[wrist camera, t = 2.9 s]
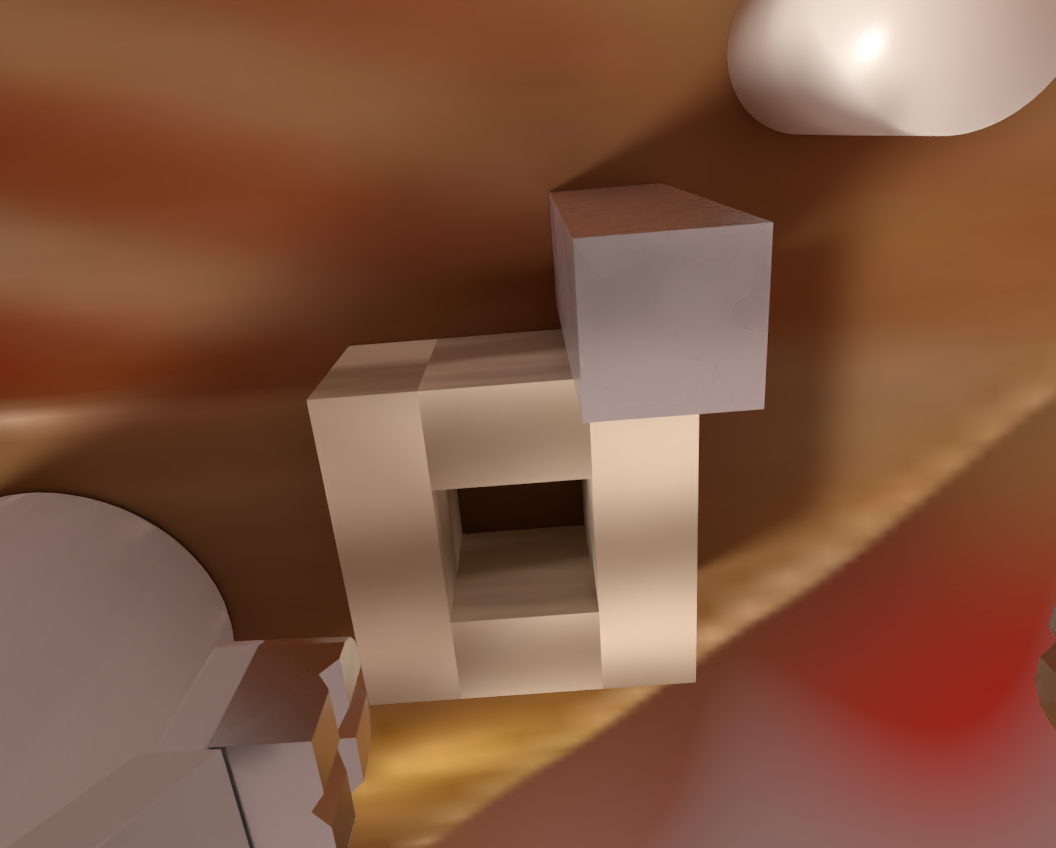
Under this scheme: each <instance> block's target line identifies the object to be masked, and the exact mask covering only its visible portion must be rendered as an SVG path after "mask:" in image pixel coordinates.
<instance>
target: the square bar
mask: <svg viewBox="0 0 1056 848" xmlns="http://www.w3.org/2000/svg"><path fill="white" fill-rule="evenodd" d="M549 202H550V217H551V233H552V249H553V264H554V280H555V296H556V306H557V310H558V315H559V319H560V323H561V328H562V332H563V337H564V341H565V346H566V350H567V355H568V359H569V364H570V368H571V372H572V377H573V381H574V386H575V390H576V395H577V399H578V404H579V408H580V412H581V417H582V421H583V423H590V422H603V421H616V420H629V419H642V418H655V417H668V416H681V415H694V414H707V413H720V412H733V411H746V410H759V409H764V402H765V382H766V361H767V341H768V321H769V301H770V280H771V260H772V240H773V222H771V221H768V220H766V219H763V218H760V217H757V216H754V215H751V214H749V213H746V212H743V211H740V210H737V209H734V208H732V207H729V206H726V205H723V204H720V203H717V202H715V201H712V200H709V199H706V198H703V197H700V196H698V195H695V194H692V193H689V192H686V191H683V190H681V189H678V188H675V187H672V186H669V185H666V184H664V183H654V184H641V185H629V186H617V187H605V188H593V189H581V190H569V191H557V192H549Z"/></svg>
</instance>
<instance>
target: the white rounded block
mask: <svg viewBox="0 0 1056 848" xmlns="http://www.w3.org/2000/svg"><path fill="white" fill-rule="evenodd" d="M727 65H728V71H729V76H730V80H731V83H732V87H733V89H734V91H735V93H736V96H737V97H738V99H739V101H740V102H741V104H742V106H743V107H744V108H745V109H746V110H747V112H748V113H749V114H750V115H751V116H752V117H753V118H755V119H756V120H757V121H758V122H760V123H761V124H763V125H764V126H766V127H768V128H770V129H773V130H775V131H778V132H782V133H786V134H793V135H877V136H953V135H959V134H966V133H970V132H973V131H977V130H980V129H983V128H986V127H988V126H990V125H993V124H995V123H998V122H1000V121H1001V120H1003V119H1005V118H1007V117H1008V116H1010V115H1012V114H1014V113H1015V112H1017V111H1018V110H1020V109H1021V108H1022V107H1024V106H1025V105H1026V104H1028V103H1029V102H1030V101H1032V100H1033V99H1034V98H1035V97H1036V96H1037V95H1038V94H1039V93H1041V92H1042V91H1043V90H1044V89H1045V88H1046V87H1047V86H1048V85H1049V83H1050V82H1051V81H1052V80H1053V79H1054V78H1055V77H1056V0H740V2H739V4H738V6H737V9H736V11H735V13H734V16H733V19H732V22H731V26H730V30H729V35H728V43H727Z"/></svg>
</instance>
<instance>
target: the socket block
mask: <svg viewBox="0 0 1056 848" xmlns="http://www.w3.org/2000/svg"><path fill="white" fill-rule="evenodd" d="M306 401H307V406H308V410H309V415H310V420H311V425H312V430H313V435H314V439H315V444H316V449H317V454H318V459H319V464H320V468H321V473H322V478H323V483H324V488H325V493H326V498H327V502H328V507H329V512H330V517H331V522H332V527H333V531H334V536H335V541H336V546H337V551H338V556H339V560H340V565H341V570H342V575H343V580H344V585H345V589H346V594H347V599H348V604H349V609H350V614H351V618H352V623H353V628H354V633H355V638H356V643H357V647H358V652H359V657H360V662H361V667H362V672H363V676H364V681H365V686H366V691H367V696H368V701H369V705H379V704H393V703H407V702H422V701H436V700H450V699H464V698H478V697H492V696H507V695H521V694H535V693H549V692H563V691H577V690H592V689H606V688H620V687H634V686H648V685H662V684H676V683H690V682H696V624H697V547H698V470H699V414H694V415H681V416H668V417H655V418H642V419H629V420H616V421H603V422H590V423H583V421H582V417H581V412H580V408H579V404H578V399H577V395H576V390H575V386H574V381H573V377H572V372H571V368H570V364H569V359H568V355H567V350H566V346H565V341H564V337H563V332H562V329H556V330H544V331H531V332H518V333H506V334H493V335H480V336H468V337H455V338H443V339H430V340H417V341H405V342H392V343H379V344H367V345H354V346H349V347H348V348H347V349H346V350H345V352H344V353H343V354H342V356H341V357H340V358H339V359H338V361H337V362H336V363H335V364H334V366H333V367H332V368H331V369H330V371H329V372H328V373H327V375H326V376H325V377H324V378H323V380H322V381H321V382H320V383H319V385H318V386H317V387H316V388H315V390H314V391H313V392H312V394H311V395H310V396H309V397H308V399H307V400H306ZM579 479H582V493H583V511H584V525H576V526H562V527H549V528H535V529H522V530H509V531H495V532H482V533H468V534H463V533H462V525H461V517H460V510H459V502H458V494H457V489H460V488H473V487H486V486H499V485H513V484H526V483H539V482H552V481H566V480H579Z"/></svg>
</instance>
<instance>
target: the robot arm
mask: <svg viewBox="0 0 1056 848" xmlns="http://www.w3.org/2000/svg"><path fill="white" fill-rule="evenodd" d="M1049 627H1050V629H1051V631H1052V632H1053V633H1054V635H1055V637H1056V606H1055V607H1054V609H1053V613H1052V616H1051V620H1050V623H1049ZM360 666H361V663H360V658H359V654H358V649H357V645H356V642H355V641H354V640H353V639H352V638H351V637H324V638H295V639H267V640H266V641H263V640H252V641H230V642H223V643H221V644H220V645H218V646H216V647H215V648H214V649H213V650H212V652H211V654H210V655H209V657H208V659H207V660H206V662H205V664H204V666H203V667H202V669H201V671H200V672H199V674H198V676H197V678H196V679H195V681H194V683H193V684H192V686H191V688H190V690H189V691H188V693H187V695H186V696H185V698H184V700H183V702H182V703H181V705H180V707H179V708H178V710H177V712H176V714H175V715H174V717H173V719H172V720H171V722H170V724H169V726H168V727H167V729H166V731H165V732H164V734H163V736H162V738H161V739H160V741H159V743H158V744H157V746H156V748H155V750H154V751H153V753H139V754H137V755H136V756H134V757H133V758H132V759H130V760H129V761H127V762H126V763H125V764H123V765H122V766H120V767H119V768H118V769H116V770H115V771H113V772H112V773H111V774H109V775H108V776H106V777H105V778H104V779H102V780H101V781H99V782H98V783H97V784H95V785H94V786H92V787H91V788H90V789H88V790H87V791H85V792H84V793H83V794H81V795H80V796H78V797H77V798H76V799H74V800H73V801H71V802H70V803H69V804H67V805H66V806H64V807H63V808H62V809H60V810H59V811H57V812H56V813H55V814H53V815H52V816H50V817H49V818H48V819H46V820H45V821H43V822H42V823H41V824H39V825H38V826H36V827H35V828H34V829H32V830H31V831H29V832H28V833H27V834H25V835H24V836H22V837H21V838H20V839H18V840H17V841H15V842H14V843H13V844H11V845H10V846H8V847H7V848H348V845H349V841H350V837H351V833H352V829H353V825H354V820H355V816H356V815H355V810H354V805H353V800H352V795H351V793H352V792H353V791H354V790H355V789H356V788H357V787H358V786H359V785H360V784H361V783H362V782H363V781H364V777H365V772H366V768H367V763H368V758H369V746H370V733H371V731H370V713H369V706H368V701H367V695H366V694H365V693H364V692H363V691H362V690H361V689H359V688H358V687H357V686H356V685H355V684H356V681H357V677H358V674H359V670H360ZM1035 682H1036V687H1037V692H1038V696H1039V701H1040V705H1041V707H1042V709H1043V710H1044V713H1045V714H1046V716H1047V718H1048V720H1049V721H1050V723H1051V725H1052V726H1053V727H1054V728H1055V729H1056V643H1055V644H1053V645H1052V646H1051V647H1050V648H1049V649H1048V650H1047V651H1046V652H1045V653H1044V654H1043V655H1042V656H1041V657H1040V660H1039V665H1038V670H1037V674H1036V679H1035Z"/></svg>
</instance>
